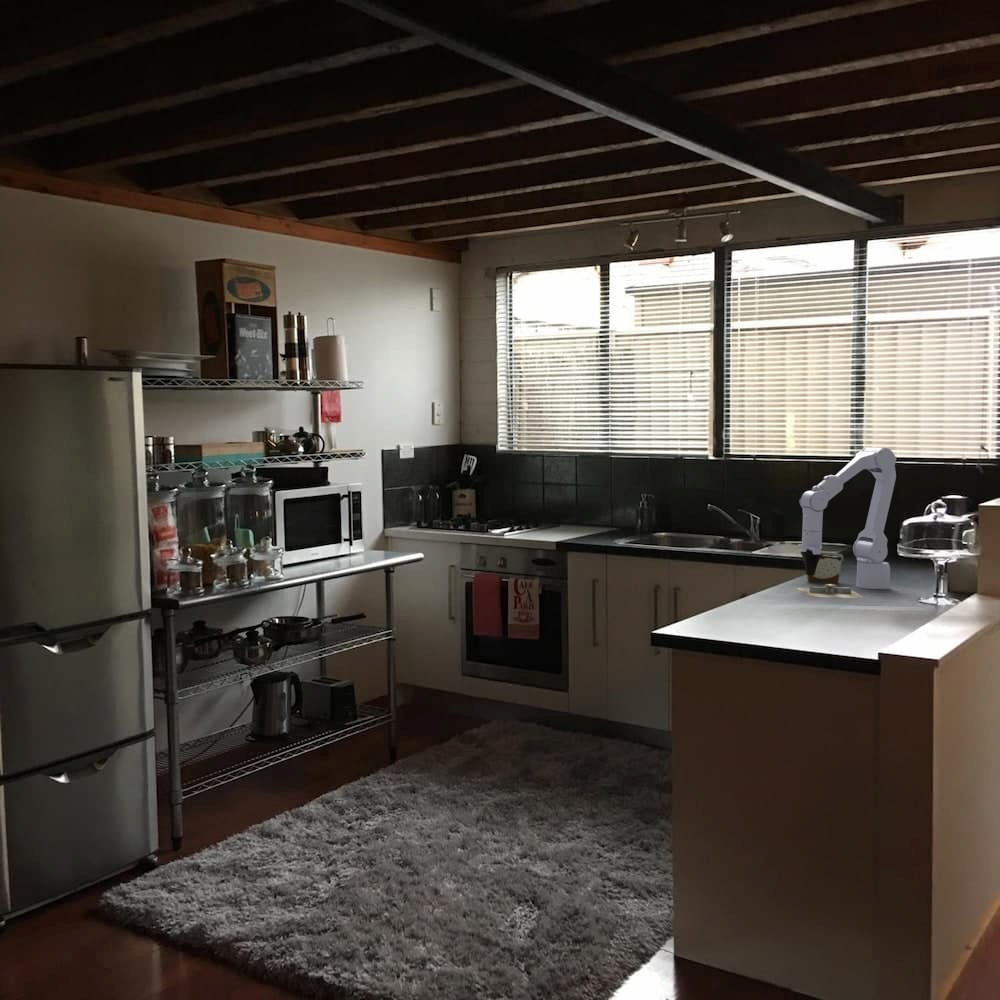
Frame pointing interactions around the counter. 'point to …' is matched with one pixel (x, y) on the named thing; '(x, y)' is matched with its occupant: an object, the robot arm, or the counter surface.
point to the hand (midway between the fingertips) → (810, 575)
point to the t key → (830, 590)
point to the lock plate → (838, 595)
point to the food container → (827, 568)
